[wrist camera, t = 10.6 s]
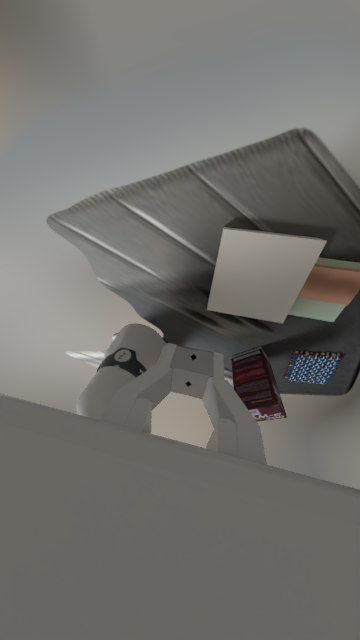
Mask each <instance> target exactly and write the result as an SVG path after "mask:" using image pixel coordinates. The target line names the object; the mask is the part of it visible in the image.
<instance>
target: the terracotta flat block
mask: <svg viewBox="0 0 360 640" xmlns="http://www.w3.org/2000/svg"><path fill="white" fill-rule="evenodd" d="M359 290H360V270H359V269H351V268H344V267H336V266H329V265H321V264H315V265H314V266H313V268H312V270H311V272H310V274H309V276H308V278H307V279H306V281H305V283H304V285H303V287H302V289H301V291H300V292H299V294H298V296H297V297H298V298H305V299H311V300H317V301H324V302H330V303H337V304H343V305H349V303H350V302H351V301H352V299H353V298H354V297H355V295H356V294H357V293H358V291H359Z"/></svg>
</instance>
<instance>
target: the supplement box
mask: <svg viewBox="0 0 360 640" xmlns="http://www.w3.org/2000/svg"><path fill="white" fill-rule="evenodd" d="M231 358H232V372H233V384H234V391H235V392H236V393H237V395H238V396H239V398H240V399H241V401H242V402H243V403H244V405H245V406H246V408H247V409H248V410H249V412H250V413H251V415H252V416H253V418H254V419H255V420H256V421H264V420H271V419H279V418H286V413H285V410H284V406H283V403H282V400H281V397H280V393H279V390H278V387H277V384H276V381H275V377H274V374H273V371H272V368H271V365H270V361H269V358H268V357H267V355H266V354H265V352H264V351H263V349H262V347H258V348H255V349H252V350H249V351H246V352H243V353H240V354H237V355H234V356H232V357H231Z"/></svg>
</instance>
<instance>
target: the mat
mask: <svg viewBox="0 0 360 640" xmlns="http://www.w3.org/2000/svg"><path fill="white" fill-rule="evenodd" d="M315 264H321V265H329V266H336V267H344V268H351V269H359V270H360V263H358V262H351V261H343V260H335V259H328V258H320V257H318V259H317V261H316V263H315ZM345 306H346V305H343V304H337V303H330V302H324V301H317V300H311V299H305V298H298V297H297V298H296V300H295V302H294V303H293V305H292V307H291V309H290V311H289V313H288V314H289V315H295V316H300V317H306V318H312V319H318V320H324V321H330V322H334V321H335V319H336V318H337V317H338V315H339V314H340V313H341V311H342V310H343V309H344V307H345Z"/></svg>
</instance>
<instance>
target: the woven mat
mask: <svg viewBox="0 0 360 640" xmlns="http://www.w3.org/2000/svg"><path fill="white" fill-rule="evenodd" d="M339 355H340V353H338V354H337V355H336V354H334V353H331V354H330V355H329V352H327V353H326V354H324V353H321V354H320V355H318V353H315V354H313V352H310V353H309V352H305V353H303V351H301V352H300V353H298V351H295V352H294V353H293V355H291V356H292V357H291V360H290V361H291V362H290V363H289V364H288V365H289V366H288V368H287V370H286V371H287V372H286V374H285V375H284V377H285V380H291V381H293V380H294V381H295V380H297V381H298V382H299V381H301V380H302V381H303V382H310V383H311V382H312V383H314V382H316V383H317V384H318V383H322V384H323V383H324V384H326V383H328V382H329V379H330V378H331V376H332V375H333V374H334V371H335V369H337V368H336V367H337V366H338V365H339V363H340V360H342V359H341V358H343V357H341V356H339ZM337 360H338V361H337ZM304 364H305V365H304ZM331 373H332V374H331ZM329 377H330V378H329Z"/></svg>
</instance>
